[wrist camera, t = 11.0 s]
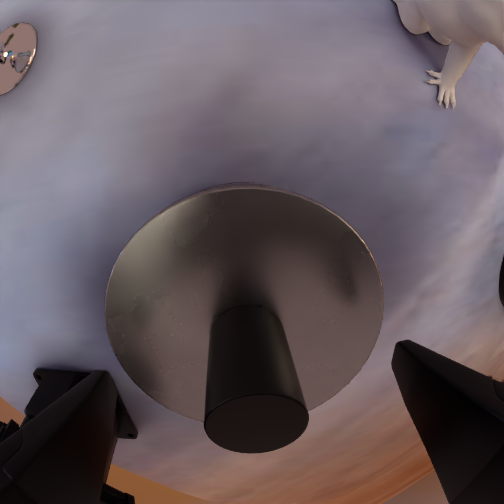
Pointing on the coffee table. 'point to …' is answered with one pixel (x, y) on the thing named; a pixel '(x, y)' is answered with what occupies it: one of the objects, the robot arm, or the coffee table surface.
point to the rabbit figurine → (455, 33)
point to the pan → (502, 283)
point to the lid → (244, 311)
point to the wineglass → (16, 54)
